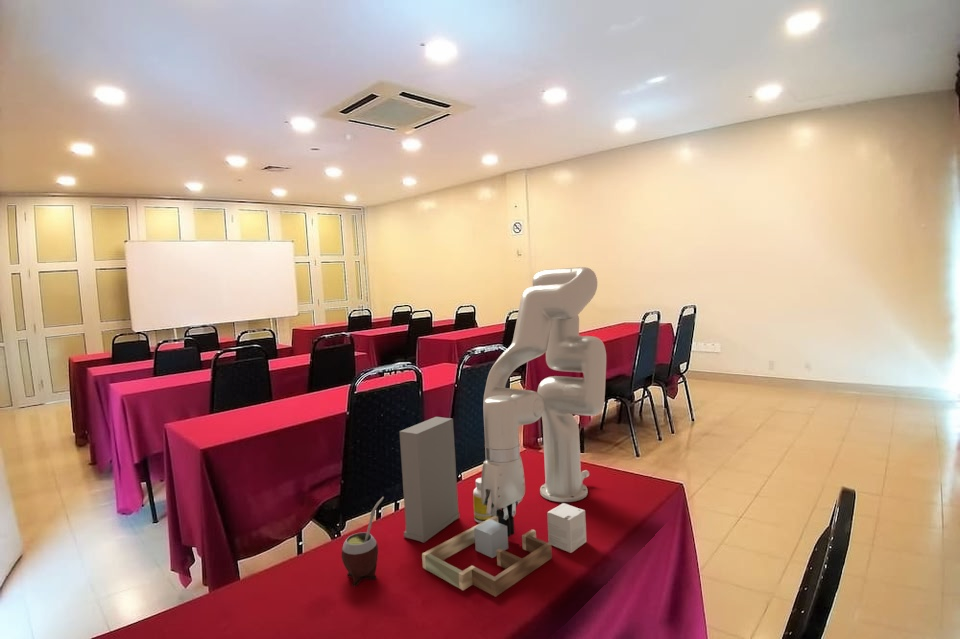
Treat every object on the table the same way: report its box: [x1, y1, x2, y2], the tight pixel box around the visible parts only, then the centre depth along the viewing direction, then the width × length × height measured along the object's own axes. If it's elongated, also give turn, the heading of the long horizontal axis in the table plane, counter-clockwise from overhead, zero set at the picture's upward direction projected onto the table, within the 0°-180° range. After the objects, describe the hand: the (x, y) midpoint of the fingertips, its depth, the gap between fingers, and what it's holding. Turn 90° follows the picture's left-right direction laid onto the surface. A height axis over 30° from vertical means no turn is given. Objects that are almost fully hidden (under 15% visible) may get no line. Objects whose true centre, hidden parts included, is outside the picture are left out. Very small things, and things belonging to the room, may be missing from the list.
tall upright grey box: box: [398, 416, 460, 544], centre depth 120 cm, size 14×6×25 cm, turn 147°
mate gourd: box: [341, 496, 385, 587], centre depth 102 cm, size 8×8×15 cm
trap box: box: [421, 515, 553, 597], centre depth 105 cm, size 22×18×3 cm
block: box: [474, 520, 509, 559], centre depth 109 cm, size 5×5×5 cm
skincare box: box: [546, 502, 587, 554], centre depth 110 cm, size 6×6×7 cm
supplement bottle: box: [472, 476, 493, 524], centre depth 124 cm, size 5×5×10 cm
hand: (506, 533), depth 113 cm, fingers closed
